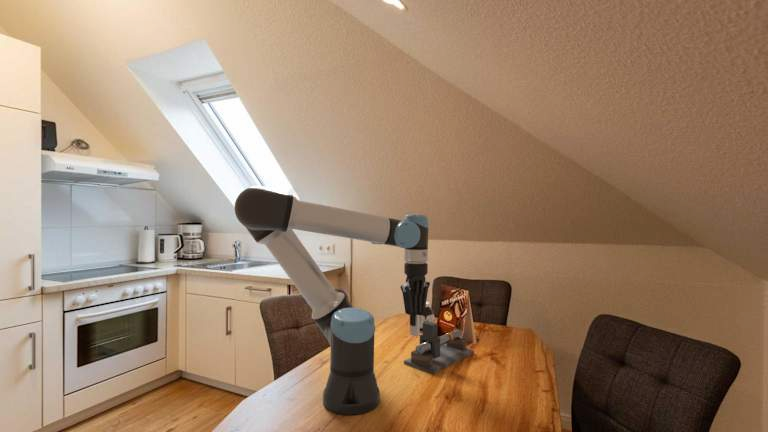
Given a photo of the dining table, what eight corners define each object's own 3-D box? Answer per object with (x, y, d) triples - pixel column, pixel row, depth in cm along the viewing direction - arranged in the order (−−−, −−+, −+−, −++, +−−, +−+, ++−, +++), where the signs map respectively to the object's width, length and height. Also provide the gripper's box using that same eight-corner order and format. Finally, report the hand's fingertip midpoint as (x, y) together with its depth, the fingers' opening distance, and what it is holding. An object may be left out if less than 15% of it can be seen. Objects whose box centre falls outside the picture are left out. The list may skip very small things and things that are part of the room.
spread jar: (411, 330, 161) (412, 304, 161) (407, 323, 172) (408, 298, 172) (438, 330, 162) (439, 304, 162) (433, 323, 173) (433, 298, 174)
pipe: (423, 356, 119) (423, 346, 119) (415, 353, 121) (415, 343, 121) (462, 338, 138) (462, 330, 138) (455, 336, 140) (455, 328, 140)
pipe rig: (433, 374, 116) (433, 360, 116) (403, 363, 124) (404, 350, 124) (473, 353, 135) (473, 340, 135) (445, 345, 143) (446, 333, 143)
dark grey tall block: (434, 358, 121) (435, 326, 122) (419, 353, 126) (419, 322, 126) (440, 356, 124) (440, 324, 124) (424, 351, 128) (425, 320, 128)
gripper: (412, 264, 111) (411, 342, 111) (437, 261, 121) (436, 333, 121) (394, 262, 116) (393, 337, 116) (418, 259, 126) (417, 328, 126)
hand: (414, 335), depth 119 cm, fingers closed
